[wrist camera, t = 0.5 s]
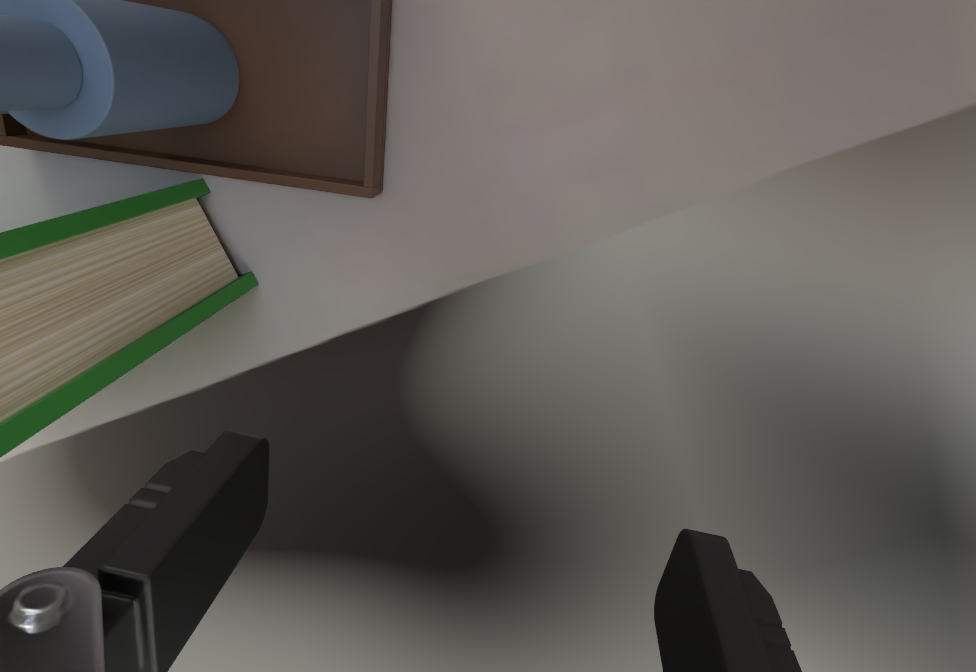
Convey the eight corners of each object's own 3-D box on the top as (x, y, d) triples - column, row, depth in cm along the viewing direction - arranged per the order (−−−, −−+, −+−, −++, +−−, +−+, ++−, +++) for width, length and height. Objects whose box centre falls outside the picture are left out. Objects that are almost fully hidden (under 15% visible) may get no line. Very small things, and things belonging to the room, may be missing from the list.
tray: (-9, -64, 34) (-44, -73, 32) (393, -14, 33) (382, -20, 31) (27, 141, 39) (-2, 145, 37) (382, 192, 38) (372, 198, 36)
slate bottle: (135, 5, 34) (-179, -52, 20) (237, 19, 34) (-4, -30, 19) (146, 117, 37) (-127, 140, 22) (242, 130, 36) (29, 162, 22)
